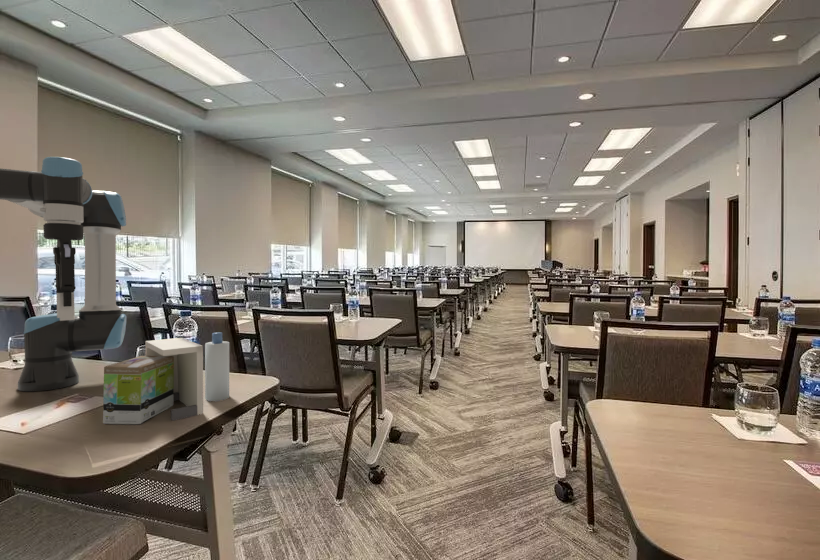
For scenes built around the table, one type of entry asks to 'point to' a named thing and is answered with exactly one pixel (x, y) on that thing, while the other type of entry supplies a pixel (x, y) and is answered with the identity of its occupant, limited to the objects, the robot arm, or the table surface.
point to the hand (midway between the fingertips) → (65, 318)
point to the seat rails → (182, 410)
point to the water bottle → (216, 368)
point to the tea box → (137, 389)
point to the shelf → (183, 367)
